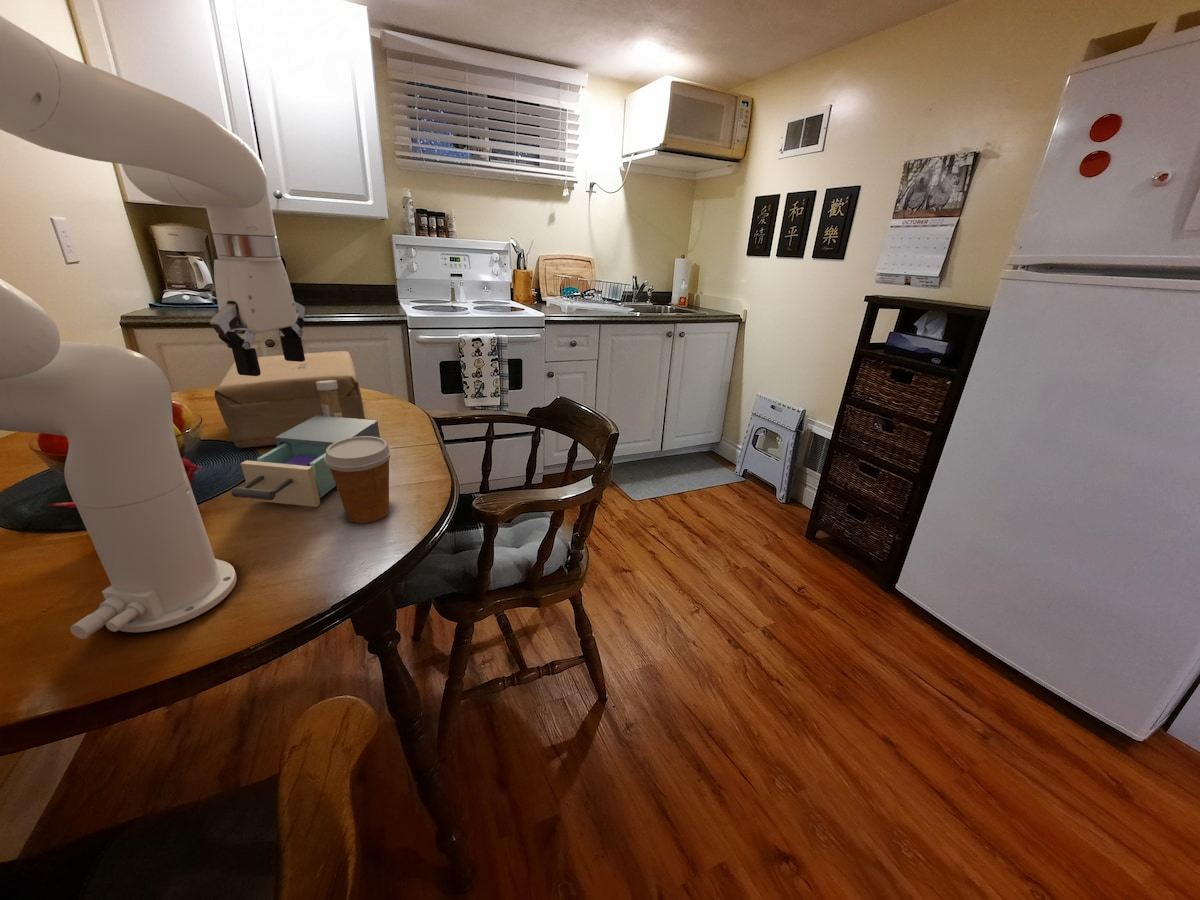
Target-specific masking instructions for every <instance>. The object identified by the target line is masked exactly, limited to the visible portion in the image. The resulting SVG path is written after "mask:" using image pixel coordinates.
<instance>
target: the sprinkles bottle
mask: <svg viewBox="0 0 1200 900" xmlns="http://www.w3.org/2000/svg"><path fill="white" fill-rule="evenodd" d="M316 386H317V390H319V391H318V392H319V395H320V401H321V408H322V412H323V416H331V417H342V412H341V408H340V404H339V399H338V396H339V395H338V390H337V389H338V384H337V381H336V380H327V381H317V382H316Z"/></svg>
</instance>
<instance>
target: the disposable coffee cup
mask: <svg viewBox="0 0 1200 900" xmlns="http://www.w3.org/2000/svg"><path fill="white" fill-rule="evenodd" d="M391 455H392V449H391V447H390V446H389V444H388V442H387V441H386V440H385V439H384V438H381V437H380V438H379V437H373V436H359V437H351V438H346V439H343V440H340V441H337V442H335V443H333V444H331V445H330V446H329V447H327V449H326V455H325V457H324V461H325V463H326V464H327V465H328V467H330V470H331V473H332V475H333V478H334V481H335V484H336V486H335V487H336V489H337V492H338V495H339V498H340V500H341V504H342V505H343V509H344V511H345V514H346V516H347V520H349V521H350V522H352V523H356V524H357V523H359V524H365V523H366V524H367V523H372V522H375V521H378V520H380V519H383V518H384V517H386V516H387V514H388V513H389V512H390V458H391Z"/></svg>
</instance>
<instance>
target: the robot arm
mask: <svg viewBox="0 0 1200 900" xmlns="http://www.w3.org/2000/svg"><path fill="white" fill-rule="evenodd" d="M0 130H1V131H3V132H5V133H8V134H10V135H12V136H15V137H17V138H19V139H21V140H24V141H25V142H28V143H31V144H33V145H36V146H38V147H40V148H43V149H46V150H50V151H54V152H58V153H62V154H65V155H68V156H69V155H70V156H74V157H78V158H83V159H87V160H92V161H98V162H104V163H110V164H119V165H121V167H122V169H123V172H124V174H125V176H126V177H127V179H128V180H129V181H130V183H131V184H132V185H133V186H134V187H135V188H136V189H137V190H138V191H140V192H141V193H142V194H144V195H145V196H147V197H149V198H150V199H153V200H155V201H158V202H160V203H164V204H169V205H173V206H187V207H188V206H190V207H205V209H206V214H207V218H208V221H209V226H210V230H211V234H212V238H213V242H214V246H215V251H216V256H217V259H214V260H213V277H214V289H215V296H216V302H217V308H218V311H217V313H216V314H215V315H213V317H211V318H210V320H209V324H210V326H211V327H212V328H213V329H214V331H215V332H216V334H218V338H219V339H220V340H221V341H222V342H223V343H225V344H226V347H227V348H228V349H231V351H232V355H233V360H234V362H235V364H236V368H237V372H238V374H239V375H247V376H259V375H260V374H261V371H260V367H259V363H258V358H257V357H258V354H257V350H256V348H255V347H252V344H253V343H254V340H255V337H256V334H262V333H267V332H271V331H277V330H279V332H280V333H281V334H282V335H280V342H281V348H282V353H283V355H284V358H285V360H287V361H297V362H303V361H305V356H304V354H305V351H304V345H303V340H302V337H303V335H304V331H303V327H304V325H305V320H304V318H305V311H306V308H305V306H304V305H302V304H300V303H299V302H297V301H295V298H294V294H293V290H292V287H291V282H290V280H289V276H288V273H287V270H286V267H285V265H284V262H283V260H282V257H281V252H280V245H279V241H278V236H277V235H278V234H277V231H276V230H277V229H276V224H275V219H274V213H273V209H272V204H271V198H270V194H269V188H268V178H267V174H266V171H265V168H264V165H263V163H262V161H261V159H260V158H259V157H258V155H257V154H256V153H255V152H254V150H253V149H252V148H250V146H249V145H248V144H247V143H246V142H244V140H242V138H240V137H239V136H238V135H236V134H235V133H233V132H232V131H231V130H229V129H228V128H227V127H225V126H223V125H221V124H220V123H219V122H217V120H214V119H213V118H211V117H210V116H208V115H206V114H205V113H203V112H201V111H199V110H198V109H196V108H194V107H192V106H190V105H188V104H186V103H183V102H181V101H179V100H177V99H175V98H172V97H169V96H167V95H165V94H162V93H160V92H157V91H155V90H152V89H150V88H147V87H145V86H142V85H140V84H137V83H135V82H132V81H130V80H128V79H125V78H123V77H121V76H118V75H116V74H113V73H112V72H108V71H105V70H103V69H100V68H98V67H95V66H92V65H90V64H87V63H84V62H81V61H80V60H77V59H74V58H72V57H70V56H68V55H67V54H65V53H63V52H61V51H59V50H57V49H55V47H53V46H51V45H50V44H48V43H46V42H44V41H42V40H41V39H40V38H38V37H36V36H35V35H33V34H32V33H29V32H28V31H26V30H24V29H23V28H21V27H20V26H18V25H17V24H15V23H13V22H11V21H10V20H8V19H7V18H5V17H4V16H2V15H0ZM241 335H243V337H241ZM174 425H175V424H174V415H173V398H172V389H171V385H170V382H169V380H168V377H167V376H166V373H164V371H163V370H162V368H161V367H160V366H159V365H158V364H157V363H156V362H154V361H153V360H152V359H150V358H148V357H147V356H145V355H144V354H141V353H139V352H137V351H134V350H132V349H129V348H126V347H121V346H118V345H112V344H104V343H94V342H81V341H80V342H78V341H77V342H76V341H63V340H61V336H60V332H59V329H58V326H57V323H55V321H54V320H53V318H52V317H51V315H50V314H49V313H48V312H47V311H46V310H45V309H44V308H43V307H42V306H41V305H40V304H39V303H38V302H36V301H35V300H34V299H33V298H31V296H29V295H27V294H26V293H24V292H23V291H21V290H19V289H18V288H16V287H15V286H13V285H12V284H11V283H9V282H8V281H6V280H4V279H2V278H1V277H0V431H5V432H14V433H15V432H16V433H30V434H31V433H32V434H46V435H47V434H48V435H53V436H64V437H65V438H66V439H67V442H68V450H67V455H66V459H65V462H64V468H63V475H64V482H65V485H66V488H67V491H68V493H69V495H70V497H71V500H72V502H74V503H75V505H76V507H77V508H76V509H77V512H78V513H79V516H80V518H81V520H82V522H83V525H84V527H85V529H86V531H87V534H88V537H89V538H90V540H91V542H92V545H93V547H94V549H95V552H96V554H97V556H98V558H99V561H100V563H101V564H102V567H103V569H104V572H105V574H106V576H107V578H108V581H109V583H110V585H109V586H107V587H106V588H105V589H103V590H102V591H101V593H102V595H103V598H104V600H103V601H102V602H101V603H99V605H98V608H97V609H96V610H95V611H93V612H92V613H89V614H87V615H85V616H84V617H82V618H81V619H80V620H78V621H76V622H75V623H73V624H71V626H70V627H69V630H70V633H71V634H72V635H73V636H74V637H76V638H78V639H80V640H86V639H88V638H89V637H90V636H92V635H93V634H95V633H96V632H98V631H99V630H100V629H103V627H104V626H105V627H106V629H108V630H109V631H110V632H114V633H117V632H118V631H119V632H124V633H147V632H153V631H159V630H163V629H167V628H171V627H175V626H177V625H180V624H183V623H186V622H188V621H190V620H192V619H194V618H197V617H199V616H200V615H202V614H204V613H206V612H207V611H210V610H211V609H213V608H214V607H216V606H217V605H218V604H219V603H221V602H222V601H223V600H224V599H226V598H227V597H228V596H229V594H230V593H231V592H232V591H233V589H234V588H235V586H236V584H237V580H238V578H237V573H236V569H235V568H234V566H233V565H232V564H231V563H229V562H227V561H225V560H221V559H217V558H215V554H214V551H213V548H212V545H211V543H210V540H209V537H208V533H207V531H206V530H207V529H206V527H205V525H204V522H203V519H202V515H201V513H200V509H199V507H198V504H197V501H196V497H195V495H194V492H193V488H192V484H191V485H190V482H189V480H188V477H187V474H186V471H185V468H184V465H183V462H182V459H181V458H182V456H181V453H180V452H181V451H180V449H179V446H178V441H177V437H176V431H175V427H174Z"/></svg>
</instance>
